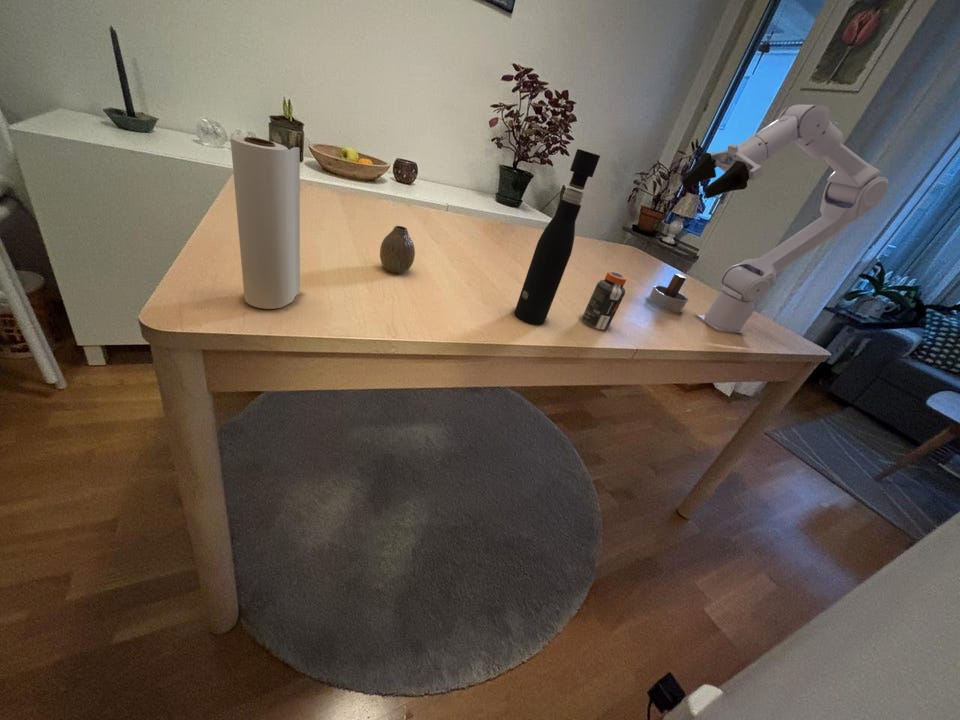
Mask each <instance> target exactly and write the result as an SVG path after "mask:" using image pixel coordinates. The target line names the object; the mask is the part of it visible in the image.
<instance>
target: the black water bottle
mask: <svg viewBox="0 0 960 720" xmlns="http://www.w3.org/2000/svg"><path fill="white" fill-rule="evenodd" d="M600 158H601V155H599V154H596V153H593V152H590V151H587V150H583V149H579V148H577V149H576V151H575V155H574V157H573V160H572V163H571V166H570V169H569V171H570V172H572V176H571V179H570V181H569V183H568V186H569V187H566V188H565V190H564V191H563V192H564V194H563V195H562V198H560V199H559V202H558V204H557V208H556V211H555V214H554V216H553V217H552V218H551V220H550V221H549V222H548V224H547V225H546V226H545V228H544V230H543V231H542V233H541V235H540V237H539V239H538V240H537V243H536V246H535V249H534V251H533V256H532V258H531V260H530V264H529V267H528V270H527V273H526V276H525V279H524V282H523V285H522V288H521V291H520V294H519V297H518V300H517V303H516V306H515V308H514V315H515V317H516V318H518V319H519V320H520V321H523V322H524V323H526V324H531V325H538V326H540V325H543V324H545V322H546V320H547V317H548V314H549V313H550V310H551V307H552V305H553V302H554V299H555V297H556V294H557V292H558V289H559V287H560V283H561V281H562V278H563V276H564V274H565V271H566V268H567V266H568V263H569V260H570V258H571V255H572V252H573V247H574V242H575V233H576V221H577V218H578V217H579V216H578V215H579V213H580V211H581V207H582V205H581V203H582V199H583V198H584V192H582V191H583V190H585V187H586V184H587V181H588V178H593V177H594V174H595V172H596V169H597V166H598V165H599V164H598V163H599V161H600ZM570 187H572V188H570ZM576 189H577V190H576ZM579 190H582V191H579Z"/></svg>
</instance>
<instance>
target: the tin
mask: <svg viewBox="0 0 960 720" xmlns="http://www.w3.org/2000/svg"><path fill="white" fill-rule="evenodd" d="M667 287H668V286H663V285H654V286H653V287H652V288H651V291H650V293H649V295H648V297H647V300H648V301H649V302H650V303H651V304H653V305H654V306H656V307H658V308H660V309H662V310H665V311H667V312H670V313H675V314H676V313H677V314H680V313H682V312H683V310H684V308H685V307H686V306H687V303H688V302H689V298H688V297H687V296H686V295H685V294H683V293H681V292H680V291H679V292H678V294H677V295H676V297H675V298H672V297H670V296H667V295H665V294H664V293H665V291H666V289H667Z"/></svg>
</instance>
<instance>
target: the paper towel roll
mask: <svg viewBox="0 0 960 720" xmlns="http://www.w3.org/2000/svg"><path fill="white" fill-rule="evenodd" d="M229 139H230V149H231V159H232V160H231V161H232V171H233V172H232V173H233V182H234V195H235V206H236V216H237V217H236V218H237V219H236V220H237V229H238V240H239V241H238V242H239V250H240V253H239V254H240V262H241V263H240V265H241V274H242V287H243V297H244V301H245V302H246V303H247V304H248V305H249V306H251V307H255V308H259V309H264V310H272V309H273V310H275V309H279V308H283V307H286V306H288V305H289V304H291V303H292V302H293V301H294V300H295V297H296V296H297V295H299V294H301V246H300V245H301V228H300V227H301V222H300V221H301V214H300V213H301V209H300V208H301V207H300V206H301V201H300V200H301V196H300V195H301V193H300V192H301V191H300V190H301V185H300V184H301V182H300V177H301V176H300V175H301V174H300V173H301V172H300V171H301V169H300V167H301V166H300V164H301V163H300V162H301V161H300V160H301V159H300V157H301V156H300V155H301V154H300V151H301V149H300V147H296V146H295V147H291V148H290V149H289V148H288V147H287V146H285V145H283V144H280V143H278V142H274V141H270V140H267V139H263V138H259V137H252V136H245V135H231V136H230V137H229Z"/></svg>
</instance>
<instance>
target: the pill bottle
mask: <svg viewBox="0 0 960 720" xmlns="http://www.w3.org/2000/svg"><path fill="white" fill-rule="evenodd" d="M627 279H628V278H627V277H626V276H625V275H623V274H621V273H620V272H616V271H611V270H608V271H607V273H606V274H605V277H604V279H601V280H599V281H597V283H596V286H595V288H594V290H593V292H592V294H591V296H590V299H589V300H588V302H587V305H586V308H585V309H584V312H583V315H582V317H581V319H582V321H583V322H584V323H585V324H587V325H588V326H590V327H591V328H594V329H597V330H607V329H609V327H610V325H611V323H612V321H613V319H614V317H615V315H616V313H617V311H618V309H619V307H620V305H621V303H622V302H623V299H624V297H625V295H626V288H625V287H624V285H625V284H626V281H627Z"/></svg>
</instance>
